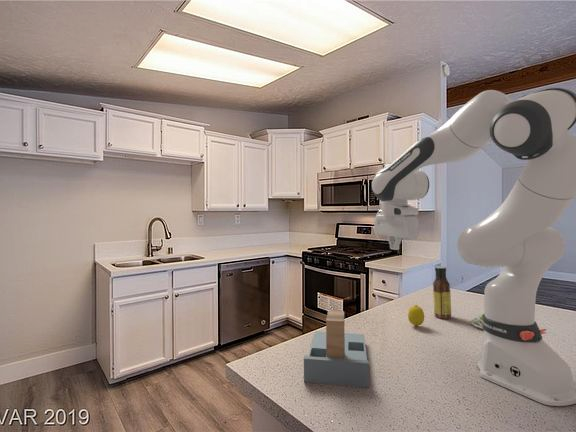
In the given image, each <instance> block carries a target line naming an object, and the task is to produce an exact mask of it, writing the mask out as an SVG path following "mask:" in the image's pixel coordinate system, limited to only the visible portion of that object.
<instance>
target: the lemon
mask: <svg viewBox="0 0 576 432" xmlns="http://www.w3.org/2000/svg"><path fill="white" fill-rule="evenodd" d="M407 317H408V321H409V323H410V324H412V326H414V327H416V328H417V327H419V326H421V325H422V324H423V323H424V322H425V313H424V310H423V308H422V307H420V306H419V305H417V304H416V305H413V306H411V307H410V308H409V310H408V312H407Z"/></svg>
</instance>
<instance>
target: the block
mask: <svg viewBox="0 0 576 432" xmlns="http://www.w3.org/2000/svg"><path fill="white" fill-rule="evenodd" d="M325 321H326V322H325V332H326V355H327V358H340V359H345V333H346V332H345V311H343V310H327V314H326V319H325Z"/></svg>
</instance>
